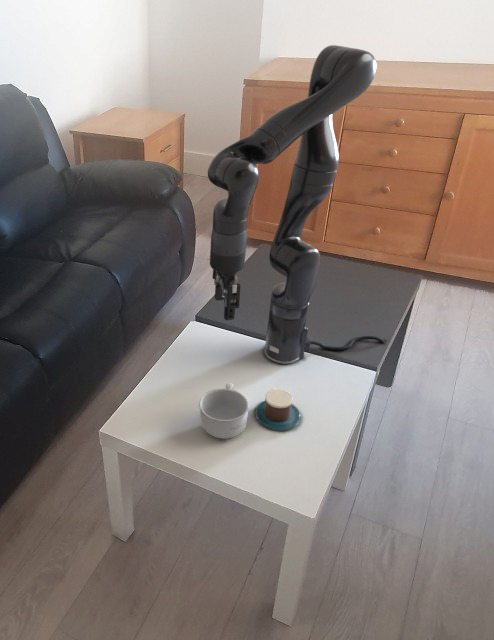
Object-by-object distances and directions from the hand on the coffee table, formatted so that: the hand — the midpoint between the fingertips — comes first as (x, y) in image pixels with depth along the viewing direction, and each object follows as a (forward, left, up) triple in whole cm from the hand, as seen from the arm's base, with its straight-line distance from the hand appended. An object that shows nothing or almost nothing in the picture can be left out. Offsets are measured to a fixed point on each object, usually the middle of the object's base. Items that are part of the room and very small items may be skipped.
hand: (224, 309), depth 137 cm
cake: (-11, +13, -22) cm, 28 cm away
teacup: (+2, +14, -23) cm, 27 cm away
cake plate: (-11, +13, -23) cm, 29 cm away
